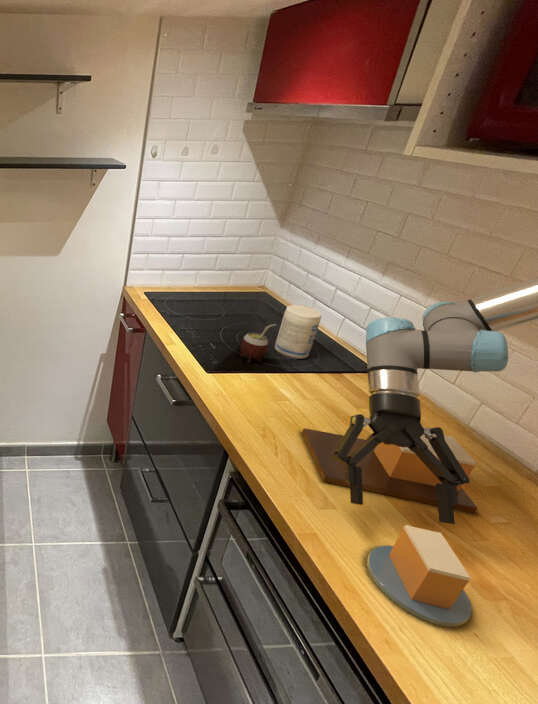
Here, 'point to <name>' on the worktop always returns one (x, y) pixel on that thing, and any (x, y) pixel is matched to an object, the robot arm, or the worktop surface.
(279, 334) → the supplement tub
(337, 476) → the serving board
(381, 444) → the loaf cake
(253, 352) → the mate gourd
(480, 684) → the worktop surface
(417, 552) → the cake slice
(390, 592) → the plate
